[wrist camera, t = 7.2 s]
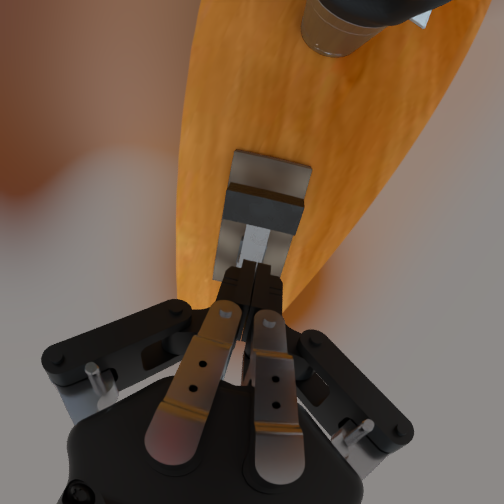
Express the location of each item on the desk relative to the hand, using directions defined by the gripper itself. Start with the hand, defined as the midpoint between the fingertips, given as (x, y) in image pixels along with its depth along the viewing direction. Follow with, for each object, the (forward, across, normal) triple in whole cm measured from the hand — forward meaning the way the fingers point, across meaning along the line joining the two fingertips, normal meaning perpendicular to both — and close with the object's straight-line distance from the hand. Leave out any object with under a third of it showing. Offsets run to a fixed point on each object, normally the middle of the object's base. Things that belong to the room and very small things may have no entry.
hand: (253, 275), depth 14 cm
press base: (+31, 0, +11) cm, 33 cm away
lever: (+23, 0, +11) cm, 26 cm away
